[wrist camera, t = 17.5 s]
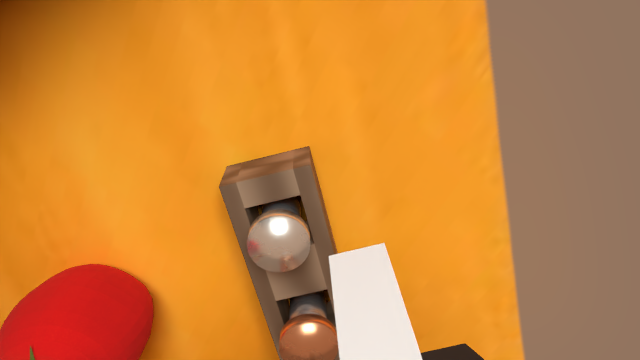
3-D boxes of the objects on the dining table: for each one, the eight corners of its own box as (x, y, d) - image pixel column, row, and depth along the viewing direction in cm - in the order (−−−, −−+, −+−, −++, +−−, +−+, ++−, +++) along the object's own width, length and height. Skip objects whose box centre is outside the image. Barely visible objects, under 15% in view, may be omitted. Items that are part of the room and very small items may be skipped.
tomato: (154, 237, 48) (100, 332, 35) (175, 329, 53) (134, 444, 40) (27, 247, 48) (-74, 346, 35) (58, 339, 53) (-22, 457, 39)
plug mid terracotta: (289, 326, 50) (288, 376, 44) (275, 285, 48) (272, 331, 42) (338, 315, 50) (344, 364, 43) (326, 273, 48) (330, 318, 41)
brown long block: (305, 397, 57) (306, 433, 52) (227, 166, 46) (219, 186, 41) (372, 383, 57) (378, 418, 52) (309, 146, 45) (310, 164, 41)
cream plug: (262, 238, 47) (257, 278, 41) (247, 191, 45) (238, 225, 39) (314, 226, 47) (317, 264, 41) (301, 178, 45) (301, 210, 39)
